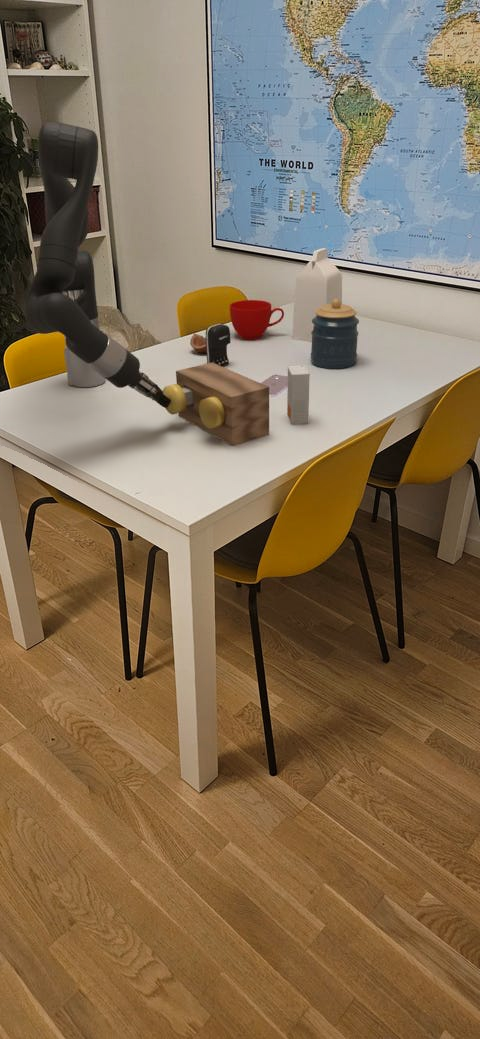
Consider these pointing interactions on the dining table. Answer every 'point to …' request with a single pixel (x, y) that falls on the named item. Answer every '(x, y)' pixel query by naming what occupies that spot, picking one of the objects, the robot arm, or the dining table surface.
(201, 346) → the broken brown shell
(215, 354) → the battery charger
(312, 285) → the milk
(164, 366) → the dining table surface
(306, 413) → the skincare box
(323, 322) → the canister
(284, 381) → the mobile phone
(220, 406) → the block
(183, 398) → the knob
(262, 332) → the ceramic cup
